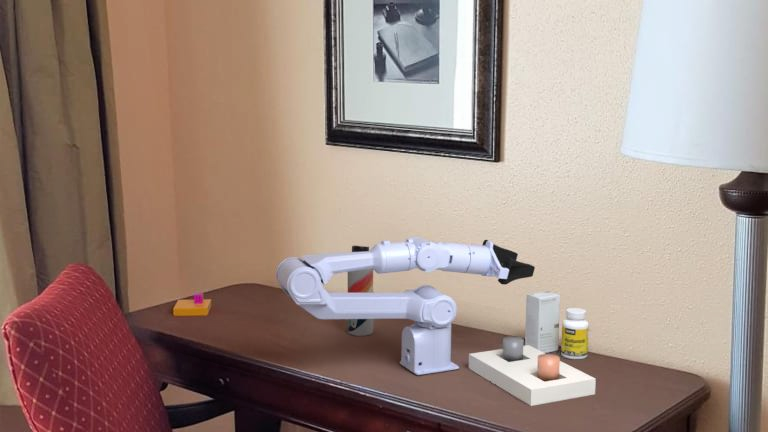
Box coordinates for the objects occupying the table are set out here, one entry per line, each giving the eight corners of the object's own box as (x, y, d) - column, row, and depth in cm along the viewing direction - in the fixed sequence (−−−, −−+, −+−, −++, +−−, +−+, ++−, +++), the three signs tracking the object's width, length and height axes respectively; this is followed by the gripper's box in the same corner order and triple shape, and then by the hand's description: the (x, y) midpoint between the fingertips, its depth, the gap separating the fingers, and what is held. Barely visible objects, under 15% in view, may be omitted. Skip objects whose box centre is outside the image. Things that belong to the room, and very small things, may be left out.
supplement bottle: (560, 358, 190) (562, 312, 189) (561, 350, 196) (563, 305, 194) (587, 361, 189) (589, 314, 188) (587, 352, 195) (589, 307, 193)
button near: (545, 383, 169) (545, 362, 168) (532, 376, 173) (533, 355, 172) (563, 380, 171) (564, 359, 170) (550, 373, 174) (551, 352, 174)
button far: (509, 363, 180) (510, 343, 179) (498, 357, 183) (499, 337, 183) (526, 360, 181) (527, 341, 181) (515, 354, 185) (516, 335, 184)
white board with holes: (530, 405, 165) (531, 389, 164) (468, 368, 184) (468, 353, 184) (595, 394, 170) (595, 378, 170) (528, 359, 190) (528, 345, 190)
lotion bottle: (343, 334, 206) (343, 246, 203) (353, 327, 212) (353, 241, 208) (367, 337, 204) (367, 248, 201) (376, 330, 209) (377, 243, 206)
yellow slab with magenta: (207, 317, 221) (206, 299, 221) (173, 317, 221) (172, 300, 220) (211, 308, 229) (210, 291, 229) (178, 308, 229) (177, 291, 228)
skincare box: (537, 355, 193) (539, 298, 191) (523, 349, 196) (525, 294, 194) (559, 350, 196) (561, 294, 194) (544, 345, 200) (546, 290, 198)
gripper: (483, 252, 176) (545, 258, 181) (454, 227, 189) (513, 234, 194) (475, 286, 178) (537, 291, 183) (447, 260, 191) (505, 265, 196)
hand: (524, 264), depth 189 cm, fingers open, 7 cm apart
